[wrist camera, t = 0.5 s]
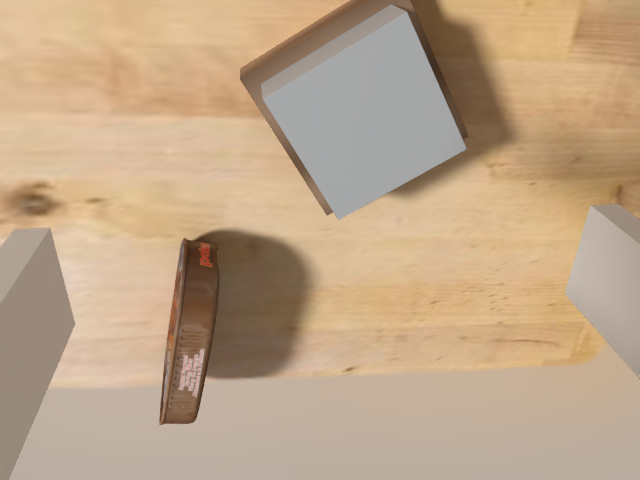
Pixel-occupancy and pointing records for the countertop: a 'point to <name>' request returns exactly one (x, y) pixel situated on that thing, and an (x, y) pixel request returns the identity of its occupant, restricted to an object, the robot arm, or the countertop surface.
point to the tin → (190, 332)
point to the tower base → (313, 37)
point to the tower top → (365, 111)
